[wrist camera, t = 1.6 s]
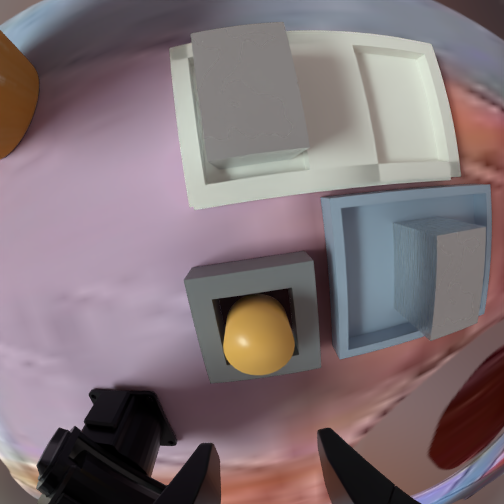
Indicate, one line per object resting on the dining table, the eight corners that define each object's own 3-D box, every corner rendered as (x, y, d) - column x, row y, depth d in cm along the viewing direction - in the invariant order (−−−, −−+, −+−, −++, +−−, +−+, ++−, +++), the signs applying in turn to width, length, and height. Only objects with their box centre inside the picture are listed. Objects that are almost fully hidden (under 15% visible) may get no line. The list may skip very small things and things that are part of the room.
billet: (437, 296, 18) (477, 322, 13) (393, 308, 18) (430, 340, 13) (438, 216, 17) (485, 226, 12) (392, 222, 17) (436, 235, 12)
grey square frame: (313, 347, 19) (321, 367, 17) (214, 362, 19) (210, 383, 17) (304, 250, 18) (313, 260, 15) (191, 267, 18) (183, 280, 15)
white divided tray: (442, 179, 17) (461, 180, 15) (197, 208, 17) (190, 212, 15) (415, 51, 15) (430, 41, 12) (176, 59, 15) (168, 44, 13)
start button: (289, 342, 17) (297, 369, 14) (232, 350, 17) (230, 379, 14) (283, 289, 17) (291, 310, 14) (221, 298, 17) (216, 320, 14)
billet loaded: (290, 159, 16) (309, 147, 11) (219, 169, 16) (207, 161, 11) (273, 64, 14) (283, 22, 9) (205, 73, 14) (190, 33, 9)
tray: (471, 305, 19) (484, 313, 17) (332, 345, 19) (339, 359, 17) (474, 183, 17) (490, 184, 15) (320, 197, 17) (329, 198, 15)
